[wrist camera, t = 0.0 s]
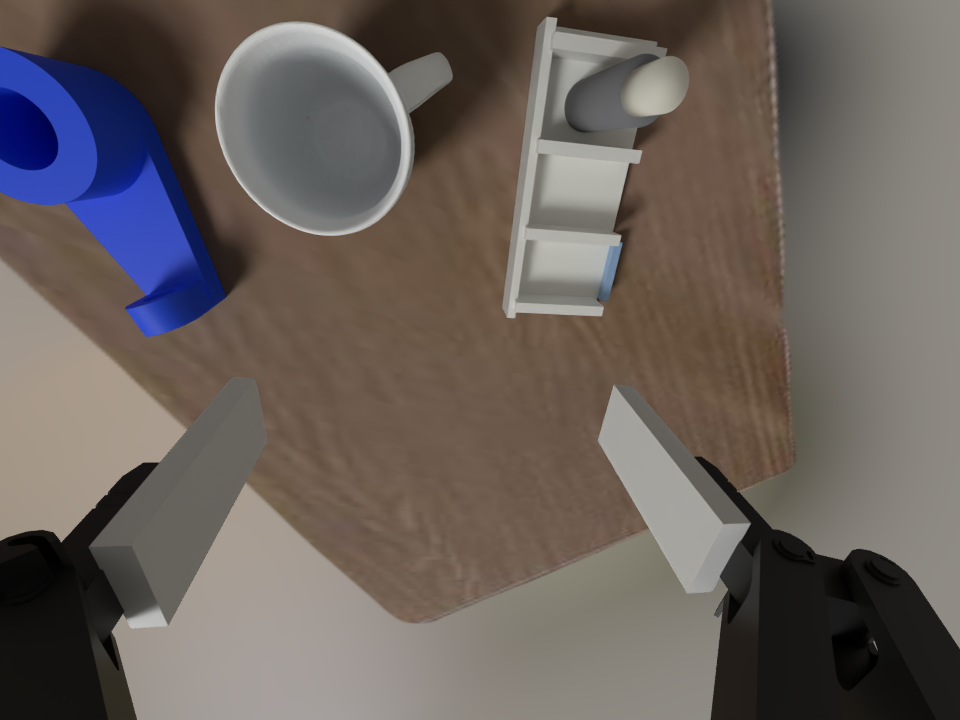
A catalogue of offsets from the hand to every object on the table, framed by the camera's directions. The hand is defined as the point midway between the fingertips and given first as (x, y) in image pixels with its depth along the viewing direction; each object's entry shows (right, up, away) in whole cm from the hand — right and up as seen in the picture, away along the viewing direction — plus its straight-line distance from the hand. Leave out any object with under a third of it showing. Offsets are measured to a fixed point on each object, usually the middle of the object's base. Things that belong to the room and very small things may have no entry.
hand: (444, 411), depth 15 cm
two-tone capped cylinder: (+11, +24, +20) cm, 33 cm away
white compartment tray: (+10, +18, +24) cm, 31 cm away
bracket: (-28, +16, +20) cm, 38 cm away
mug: (-9, +21, +20) cm, 30 cm away
